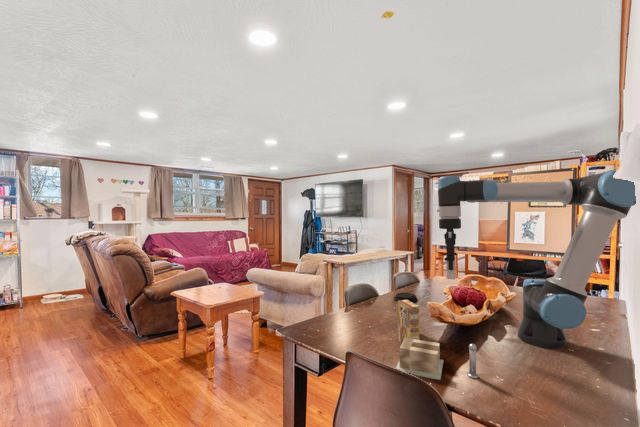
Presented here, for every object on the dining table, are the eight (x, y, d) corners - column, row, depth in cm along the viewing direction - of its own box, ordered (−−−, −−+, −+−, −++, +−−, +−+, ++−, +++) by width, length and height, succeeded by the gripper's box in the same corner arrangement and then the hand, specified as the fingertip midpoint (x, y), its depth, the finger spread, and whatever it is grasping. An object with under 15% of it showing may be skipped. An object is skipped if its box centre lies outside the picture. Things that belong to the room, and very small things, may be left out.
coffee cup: (419, 337, 122) (419, 298, 122) (394, 335, 124) (394, 297, 124) (416, 328, 131) (416, 292, 131) (393, 327, 133) (393, 291, 133)
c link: (399, 367, 98) (399, 347, 98) (404, 355, 106) (404, 337, 106) (437, 374, 93) (437, 354, 93) (439, 361, 101) (439, 343, 101)
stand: (478, 374, 94) (478, 343, 94) (478, 379, 91) (478, 346, 91) (467, 372, 95) (467, 341, 95) (467, 377, 92) (467, 345, 92)
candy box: (420, 349, 112) (420, 306, 112) (409, 350, 111) (409, 306, 111) (407, 339, 120) (407, 299, 120) (397, 340, 119) (397, 300, 119)
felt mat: (443, 361, 102) (443, 359, 102) (440, 380, 91) (440, 378, 91) (402, 353, 108) (402, 352, 108) (395, 370, 96) (395, 369, 96)
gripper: (440, 217, 129) (441, 269, 129) (437, 218, 106) (438, 281, 106) (460, 217, 126) (461, 270, 126) (461, 218, 103) (463, 283, 103)
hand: (451, 275), depth 116 cm, fingers open, 13 cm apart
